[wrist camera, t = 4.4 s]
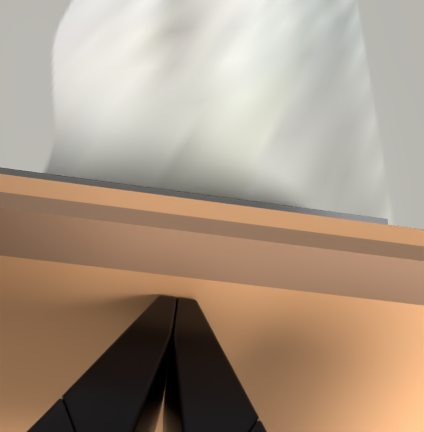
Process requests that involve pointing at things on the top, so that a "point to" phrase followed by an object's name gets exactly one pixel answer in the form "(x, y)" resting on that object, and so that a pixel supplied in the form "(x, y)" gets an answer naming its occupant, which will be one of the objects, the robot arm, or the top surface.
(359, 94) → the top surface
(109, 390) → the robot arm
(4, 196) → the duct cover
